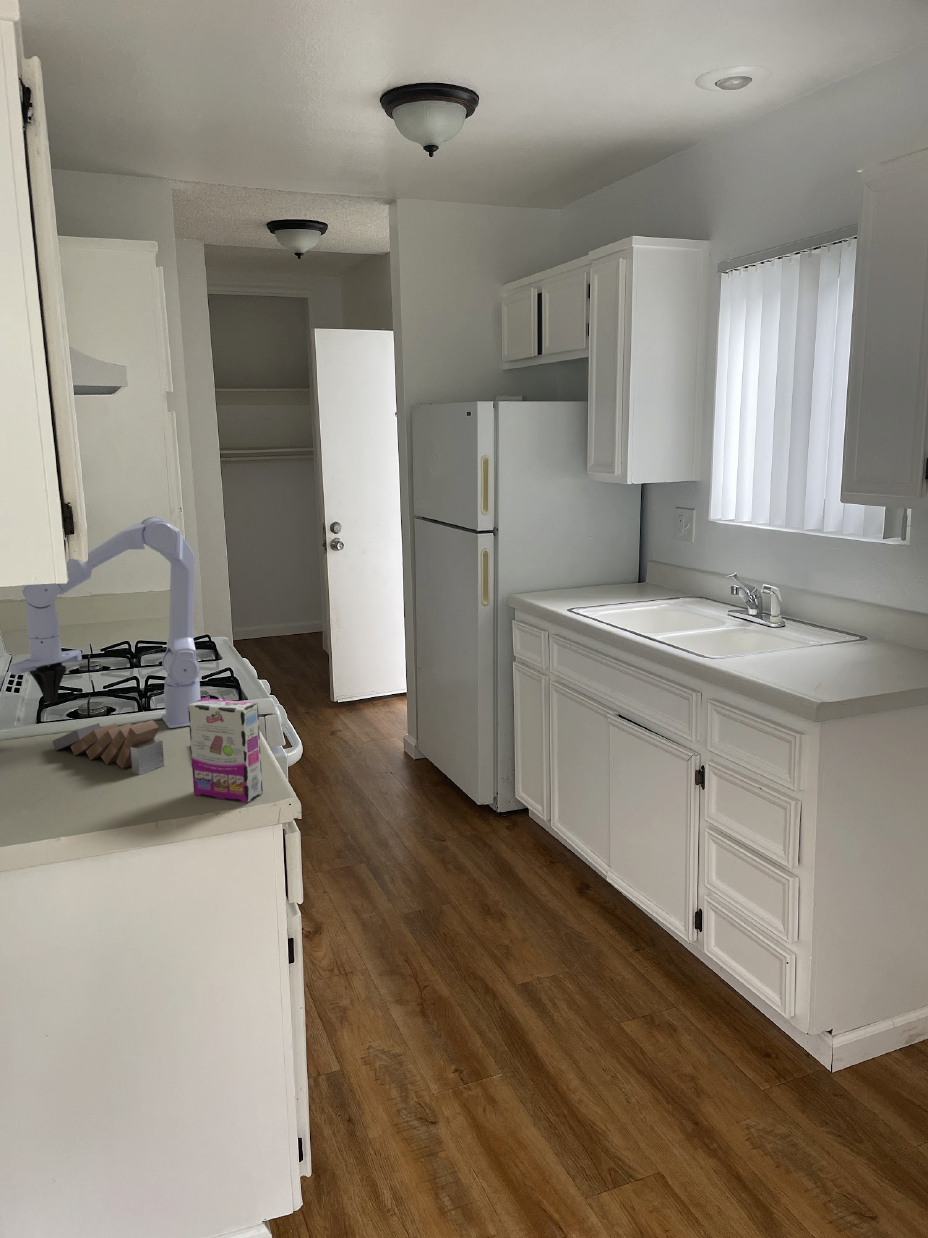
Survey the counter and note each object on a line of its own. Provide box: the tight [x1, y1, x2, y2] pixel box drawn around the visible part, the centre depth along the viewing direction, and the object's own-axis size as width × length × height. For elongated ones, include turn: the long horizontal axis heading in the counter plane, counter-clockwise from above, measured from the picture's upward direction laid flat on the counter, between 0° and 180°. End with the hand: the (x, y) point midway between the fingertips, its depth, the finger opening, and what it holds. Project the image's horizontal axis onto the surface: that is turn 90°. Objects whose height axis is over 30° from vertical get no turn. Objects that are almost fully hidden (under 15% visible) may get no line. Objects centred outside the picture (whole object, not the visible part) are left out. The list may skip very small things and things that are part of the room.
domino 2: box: [70, 722, 119, 757], centre depth 180 cm, size 2×5×9 cm
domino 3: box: [85, 723, 132, 761], centre depth 177 cm, size 2×5×9 cm
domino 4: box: [100, 721, 144, 766], centre depth 175 cm, size 2×5×9 cm
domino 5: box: [115, 719, 160, 770], centre depth 173 cm, size 2×5×9 cm
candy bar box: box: [188, 697, 264, 804], centre depth 159 cm, size 11×5×16 cm, turn 70°
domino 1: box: [52, 722, 102, 751], centre depth 183 cm, size 2×5×9 cm
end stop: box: [131, 738, 165, 776], centre depth 172 cm, size 2×6×5 cm, turn 148°
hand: (51, 701), depth 188 cm, fingers closed
